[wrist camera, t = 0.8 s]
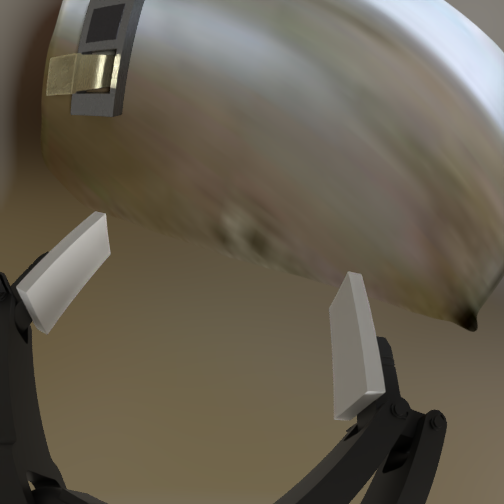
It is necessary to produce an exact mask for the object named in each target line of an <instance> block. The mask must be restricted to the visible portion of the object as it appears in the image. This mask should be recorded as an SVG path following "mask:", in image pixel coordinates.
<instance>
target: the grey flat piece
mask: <svg viewBox="0 0 504 504" xmlns="http://www.w3.org/2000/svg"><path fill="white" fill-rule="evenodd" d="M143 3H144V0H90V3H89V6H88V10H87V13H86V17H85V21H84V25H83V29H82V34H81V38H80V43H79V48H78V53H81V55H92V52H99V51H110V50H117V51H116V56H115V61H114V67H113V73H112V80H111V87H110V92H86V90H82V91H76V93H74V94H72V102H71V115H91V116H108V117H114V116H118V115H121V114H122V108H123V100H124V92H125V85H126V79H127V72H128V67H129V61H130V56H131V51H132V46H133V42H134V37H135V33H136V29H137V25H138V21H139V17H140V13H141V10H142V6H143Z"/></svg>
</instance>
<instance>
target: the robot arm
mask: <svg viewBox="0 0 504 504" xmlns="http://www.w3.org/2000/svg"><path fill="white" fill-rule="evenodd" d="M109 255H110V247H109V239H108V231H107V222H106V214H105V213H100V212H96V211H95V212H94V213H93V214H92V215H90V216H89V217H88V218H87V219H86V220H85V221H83V222H82V223H81V224H80V225H79V226H77V227H76V228H75V229H74V230H73V231H72V232H71V233H69V234H68V235H67V236H66V237H65V238H64V239H63V240H62V241H61V242H60V243H58V244H57V245H56V246H55V248H53V249H52V250H51V251H50V252H46V253H45V254H43V255H41V256H40V257H38V258H37V259H36V260H35V261H34V263H33V264H31V265H30V266H29V268H28V269H27V270H26V271H25V272H24V273H23V274H22V275H21V276H20V277H19V278H18V279H17V280H16V281H15V282H14V283H13V284H12V285H11V286H10V285H9V282H8V280H7V278H6V276H5V274H4V273H2V272H0V504H107V503H105V502H103V501H101V500H99V499H97V498H95V497H93V496H91V495H89V494H87V493H82V492H77V491H72V490H68V489H67V488H66V486H65V483H64V481H63V478H62V475H61V473H60V471H59V469H58V467H57V466H56V465H55V463H54V462H53V461H52V459H51V456H50V453H49V450H48V446H47V442H46V438H45V434H44V430H43V426H42V421H41V416H40V411H39V406H38V399H37V393H36V385H35V377H34V367H33V354H32V330H31V326H30V323H31V322H32V321H33V322H34V324H35V326H36V327H37V329H38V330H40V331H42V332H43V333H45V334H48V333H49V331H50V330H51V329H52V327H53V326H54V324H55V323H56V322H57V320H58V319H59V317H60V316H61V315H62V313H63V312H64V311H65V309H66V308H67V307H68V305H69V304H70V303H71V301H72V300H73V299H74V298H75V296H76V295H77V294H78V292H79V291H80V290H81V289H82V287H83V286H84V285H85V284H86V282H87V281H88V280H89V279H90V277H91V276H92V275H93V274H94V273H95V271H96V270H97V269H98V268H99V267H100V266H101V264H102V263H103V262H104V261H105V260H106V259H107V257H108V256H109ZM329 313H330V314H329V315H330V326H331V342H332V359H333V382H334V383H333V385H334V420H351V419H353V418H354V417H355V416H356V415H357V423H356V424H355V425H353V426H352V427H350V428H349V429H348V430H346V431H347V432H348V433H347V434H346V435H345V437H344V438H343V439H342V440H341V441H340V442H339V443H338V444H337V445H336V446H335V447H334V449H333V450H332V451H331V452H330V453H329V454H328V455H327V456H326V457H325V458H324V459H323V460H322V461H321V462H320V463H319V464H318V465H317V466H316V467H315V468H314V469H313V470H312V471H311V472H310V473H309V474H308V475H306V476H305V477H304V478H303V479H302V480H301V481H300V482H299V483H298V484H297V485H295V486H294V487H293V488H292V489H291V490H290V491H288V492H287V493H286V494H285V495H284V496H282V497H281V498H280V499H279V500H277V501H276V502H275V503H274V504H349V503H350V501H351V500H352V499H353V498H354V497H355V496H356V495H357V493H358V492H359V491H360V490H361V489H362V488H363V486H364V485H365V484H366V483H367V481H368V480H369V479H370V478H371V476H372V475H373V474H374V472H375V471H376V470H377V471H376V474H375V476H374V478H373V480H372V482H371V484H370V486H369V488H368V490H367V492H366V494H365V496H364V498H363V500H362V502H361V504H425V503H426V500H427V497H428V494H429V492H430V489H431V486H432V483H433V480H434V477H435V473H436V470H437V467H438V463H439V459H440V455H441V451H442V447H443V443H444V438H445V433H446V428H447V422H446V418H445V416H444V415H443V414H442V413H441V412H440V411H439V410H431V411H429V412H428V413H427V414H422V413H420V412H417V411H414V410H412V409H411V408H410V406H409V404H408V402H407V401H406V400H405V399H403V398H402V397H401V396H400V391H399V385H398V380H397V374H396V369H395V367H394V365H395V364H394V360H393V354H392V350H391V346H390V345H389V343H388V341H387V340H386V338H384V337H377V336H376V333H375V329H374V324H373V320H372V315H371V310H370V306H369V302H368V298H367V294H366V290H365V286H364V282H363V278H362V274H358V273H354V272H349V271H348V273H347V275H346V277H345V279H344V281H343V283H342V285H341V287H340V289H339V291H338V293H337V295H336V296H335V298H334V300H333V302H332V304H331V306H330V308H329ZM377 468H378V469H377ZM28 481H30V482H32V484H33V485H34V487H35V490H33V491H31V489H30V486H29V483H28Z"/></svg>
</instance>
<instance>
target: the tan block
mask: <svg viewBox="0 0 504 504" xmlns="http://www.w3.org/2000/svg"><path fill="white" fill-rule="evenodd" d="M115 56H116V55H81V53H75V54H69V55H63V56H58V57H53V58H50V64H49V72H48V81H47V92H46V96H48V95H62V94H74V93H76V91H82V90H89V89H95V88H103V87H111V80H112V73H113V67H114V61H115Z"/></svg>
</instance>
